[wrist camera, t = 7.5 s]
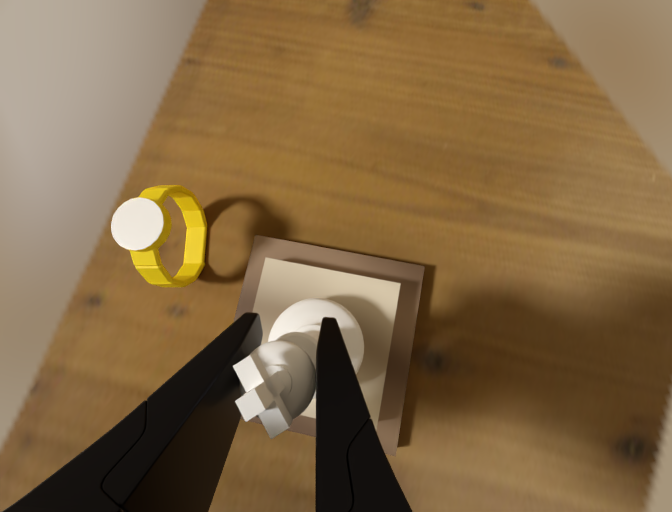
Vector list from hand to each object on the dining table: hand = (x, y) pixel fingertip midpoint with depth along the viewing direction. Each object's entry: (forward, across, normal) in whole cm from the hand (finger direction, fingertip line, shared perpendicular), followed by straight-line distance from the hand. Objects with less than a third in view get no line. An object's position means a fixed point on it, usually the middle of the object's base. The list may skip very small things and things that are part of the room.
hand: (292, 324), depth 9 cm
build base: (+6, 0, +8) cm, 10 cm away
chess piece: (+4, 0, +6) cm, 7 cm away
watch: (+10, +9, +4) cm, 15 cm away
